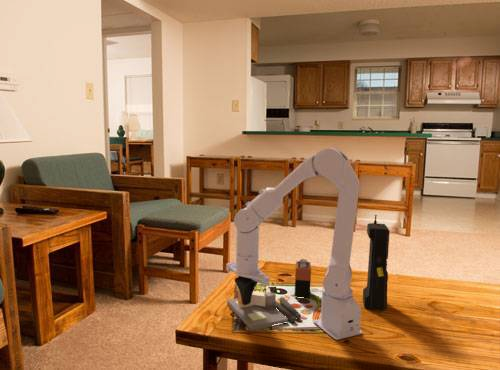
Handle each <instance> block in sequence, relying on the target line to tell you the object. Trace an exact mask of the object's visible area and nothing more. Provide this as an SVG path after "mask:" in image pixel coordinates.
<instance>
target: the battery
mask: <svg viewBox="0 0 500 370" xmlns="http://www.w3.org/2000/svg"><path fill="white" fill-rule="evenodd" d="M311 266H312V265H311V261H308V260H307V259H305V258H301V259H300V260H297V261H296V262H295V272H294V276H295V279H294V297H295V296H297V297H304V298H309V299H311V280H312V267H311Z"/></svg>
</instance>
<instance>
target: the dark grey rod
mask: <svg viewBox="0 0 500 370" xmlns="http://www.w3.org/2000/svg"><path fill="white" fill-rule="evenodd" d="M275 304H277V309H278V310H279V311H280V312H281V313H282V314H283V315H284V316H286V317H287V318H288V319H289V320H288V321H289V322H291V321H292V322H294V323H296V322H297V319H296V317H295V316H294V315H292V314H291V313H290V312H289V311H288V310H287V309H286V308H285V307H284V306H283V305H282V304H281V303H280V302H278V301H277V300H276V301H275ZM295 321H296V322H295ZM292 322H291V323H292Z"/></svg>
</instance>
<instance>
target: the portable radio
mask: <svg viewBox="0 0 500 370" xmlns="http://www.w3.org/2000/svg"><path fill="white" fill-rule="evenodd" d="M377 216H378V215H377V214H374V221H373V223H372V222H371V223H367V226H366V228H367V229H366V232H367V233H366V234H367V236H368V239H369V250H368V266H367V280H366V287H365V288H363V291H362V303H363V307H364V308H365V309H371V310H378V311H379V310H380V311H385V310H386V309H387V308H388V281H389V275H388V274H389V273H388V270H387V269H388V268H387V267H388V261H387V260H388V258H389V248H390V247H389V245H390V234H391V233H390V229H389V227H388V226H387V225H386V224H385V223H378V222H377Z"/></svg>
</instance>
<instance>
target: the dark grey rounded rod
mask: <svg viewBox="0 0 500 370" xmlns="http://www.w3.org/2000/svg"><path fill="white" fill-rule="evenodd" d="M279 300H280V301H279V303H280V302H281V303H282V304H283V305H284V306H285V307H286V308H287V309H288V311H289V312H290V313H291V314H292V315H294V316H295V317H296V318H297V319H296V320H300V319H301V318H302V315H301V313H300V312H299V311H298V310H297V309H296V308H295V307H294V306H293V305H292V304H291V303H290V302H288V300H287V299H285V298H284V297H279ZM281 303H280V304H281ZM282 304H281V305H282ZM283 305H282V306H283ZM284 306H283V307H284ZM285 307H284V308H285ZM286 308H285V309H286ZM287 309H286V310H287Z"/></svg>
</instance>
